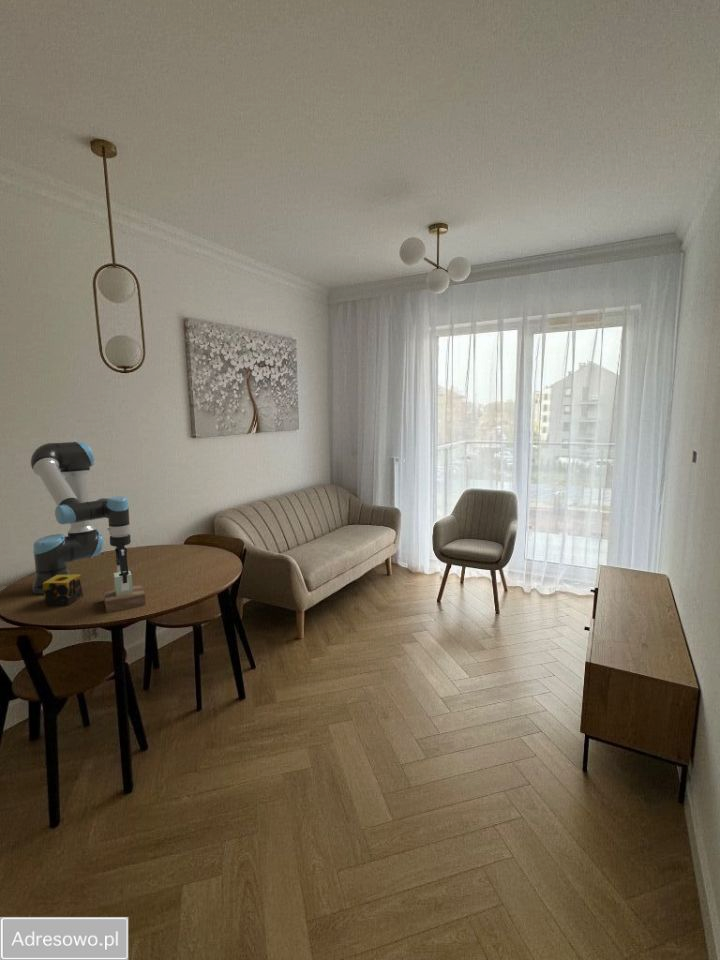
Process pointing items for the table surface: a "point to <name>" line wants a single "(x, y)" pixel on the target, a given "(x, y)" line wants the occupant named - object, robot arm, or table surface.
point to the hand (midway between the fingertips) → (123, 584)
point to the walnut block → (124, 599)
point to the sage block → (118, 584)
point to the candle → (62, 589)
